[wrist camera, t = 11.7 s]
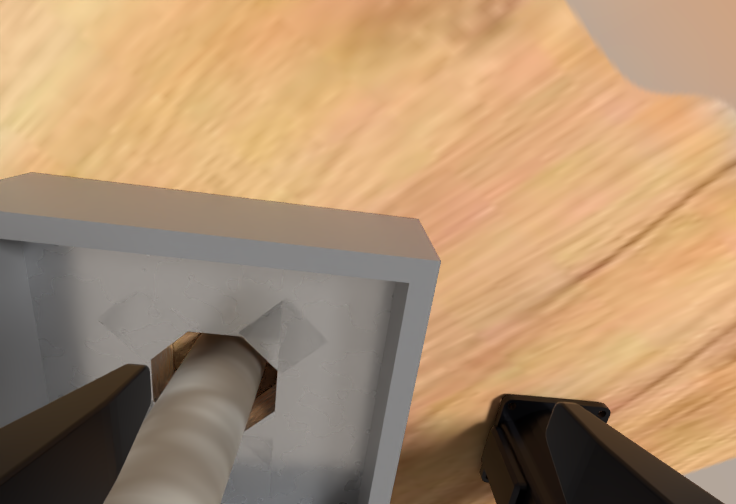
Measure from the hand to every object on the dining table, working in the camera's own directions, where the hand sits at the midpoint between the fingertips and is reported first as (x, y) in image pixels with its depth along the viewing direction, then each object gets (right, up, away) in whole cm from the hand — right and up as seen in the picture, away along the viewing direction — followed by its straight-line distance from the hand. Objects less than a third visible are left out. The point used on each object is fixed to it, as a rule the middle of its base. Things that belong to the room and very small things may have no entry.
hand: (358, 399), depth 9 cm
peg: (-7, -3, +14) cm, 16 cm away
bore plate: (-7, -3, +14) cm, 16 cm away
